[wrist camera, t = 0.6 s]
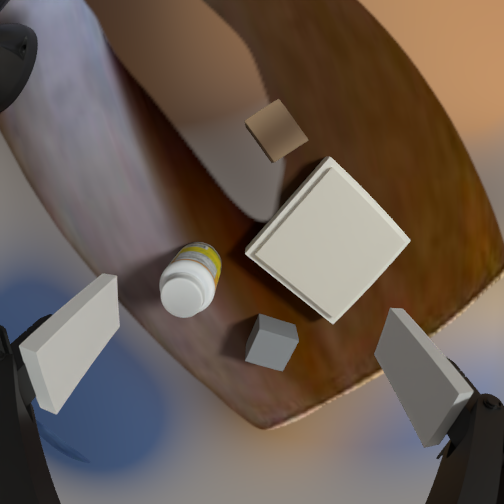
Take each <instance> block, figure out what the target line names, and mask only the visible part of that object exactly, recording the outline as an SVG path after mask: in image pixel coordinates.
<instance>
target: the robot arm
mask: <svg viewBox="0 0 504 504" xmlns="http://www.w3.org/2000/svg"><path fill="white" fill-rule="evenodd" d="M9 1H10V0H0V11H1V10H2V9H3V8H4V6H5V5H6V4H7V3H8V2H9ZM37 46H38V45H37V37H36V34H35V32H34V31H33V30H32V29H31V28H29V27H27V26H25V25H23V24H18V23H15V24H0V112H1V111H2V110H4V109H5V108H7V107H8V106H9V105H10V104H11V103H12V102H13V101H14V100H15V99H16V98H17V96H18V95H19V94H20V92H21V91H22V89H23V87H24V86H25V84H26V82H27V80H28V78H29V76H30V74H31V71H32V69H33V66H34V63H35V59H36V55H37ZM119 327H120V322H119V309H118V291H117V276H116V275H110V274H104V273H103V274H102V275H100V276H99V277H98V278H97V279H95V280H94V281H93V282H92V283H90V284H89V285H88V286H87V287H86V288H84V289H83V290H82V291H81V292H80V293H78V294H77V295H76V296H75V297H73V298H72V299H71V300H70V301H69V302H68V303H66V304H65V305H64V306H63V307H62V308H60V309H59V310H58V311H57V312H56V313H55V314H54V315H51V314H49V315H47V316H44V317H42V318H40V319H39V320H38V321H36V322H35V323H34V324H33V326H31V327H29V328H28V329H27V331H25V332H24V333H23V334H21V335H20V336H19V337H18V338H17V339H16V340H15V341H14V342H13V343H11V344H10V342H9V339H8V335H7V332H6V329H5V328H4V327H3V326H1V325H0V504H61V503H60V501H59V498H58V495H57V493H56V490H55V487H54V484H53V482H52V479H51V475H50V472H49V469H48V466H47V463H46V459H45V456H44V452H43V449H42V445H41V441H40V437H39V433H38V428H37V424H36V419H35V414H34V410H33V407H32V404H31V402H32V400H33V399H34V398H35V396H36V398H37V400H38V403H39V406H40V408H42V409H45V410H47V411H49V412H52V413H54V414H57V413H58V412H59V410H60V409H61V407H62V406H63V405H64V403H65V402H66V400H67V399H68V397H69V396H70V394H71V393H72V391H73V390H74V388H75V387H76V385H77V384H78V383H79V381H80V380H81V378H82V377H83V376H84V374H85V373H86V371H87V370H88V369H89V367H90V366H91V364H92V363H93V362H94V360H95V359H96V358H97V356H98V355H99V353H100V352H101V351H102V349H103V348H104V347H105V345H106V344H107V343H108V341H109V340H110V338H111V337H112V336H113V334H114V333H115V332H116V331H117V329H118V328H119ZM374 355H375V357H376V359H377V360H378V362H379V364H380V366H381V367H382V369H383V371H384V373H385V375H386V376H387V378H388V380H389V382H390V384H391V385H392V387H393V389H394V391H395V392H396V394H397V397H398V398H399V400H400V402H401V404H402V406H403V408H404V410H405V412H406V413H407V415H408V417H409V419H410V421H411V423H412V425H413V427H414V429H415V431H416V433H417V435H418V437H419V439H420V440H421V443H422V445H423V446H424V448H425V447H430V446H434V445H439V444H440V442H441V441H442V440H443V438H444V437H445V435H446V434H448V436H449V438H450V440H449V442H448V443H447V444H446V446H445V447H444V448H443V450H442V451H441V452H440V454H439V455H438V456H437V459H439V458H440V456H442V455H443V457H442V460H441V463H440V466H439V469H438V472H437V475H436V478H435V480H434V483H433V486H432V488H431V491H430V493H429V496H428V498H427V501H426V503H425V504H504V406H503V404H502V403H501V401H500V400H499V399H498V398H497V397H495V396H493V395H491V394H480V393H479V392H478V390H477V389H476V388H475V387H474V386H473V384H472V383H471V382H470V381H469V379H468V378H467V377H465V375H464V373H463V372H462V371H460V369H459V368H458V366H457V365H456V364H455V363H454V362H453V361H451V360H450V359H448V358H447V357H445V356H444V355H443V354H442V352H441V351H440V350H439V349H438V347H437V346H436V345H435V344H434V343H433V342H432V341H431V339H430V338H429V337H428V336H427V335H426V334H425V333H424V331H423V330H422V329H421V328H420V327H419V326H418V325H417V324H416V323H415V321H414V320H413V319H412V318H411V317H410V316H409V315H408V314H407V313H406V312H405V311H404V309H399V308H390V310H389V313H388V316H387V319H386V322H385V325H384V328H383V331H382V334H381V337H380V340H379V343H378V346H377V348H376V351H375V354H374Z"/></svg>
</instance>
